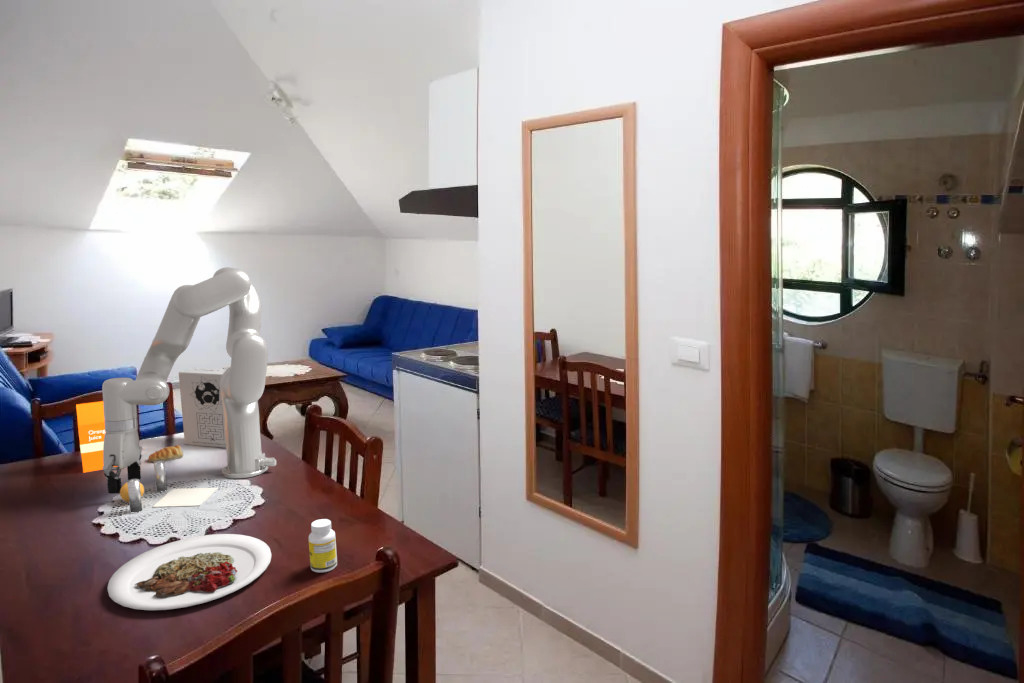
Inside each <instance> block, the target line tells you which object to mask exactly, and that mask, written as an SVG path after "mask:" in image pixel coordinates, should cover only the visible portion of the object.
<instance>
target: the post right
mask: <svg viewBox="0 0 1024 683" xmlns="http://www.w3.org/2000/svg"><path fill="white" fill-rule="evenodd" d="M165 463H166V461H156V462H153V468H154V470H153V471H154V478H155V480H154V481H155V488H156V490H155V491H156V492H157V493H162V492H161V491H163V492H166V491H167V490H168V484H167V473H166V464H165ZM165 490H166V491H165Z"/></svg>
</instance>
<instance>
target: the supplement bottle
mask: <svg viewBox="0 0 1024 683" xmlns="http://www.w3.org/2000/svg"><path fill="white" fill-rule="evenodd" d="M310 528H311V529H310V531H311V532H310V533H309V535H308V549H309V550H308V553H309V566H310V569H311V571H312V572H315V573H321V574H322V573H327V572H330V571H332V570H334V569H335V568H336V567H337V566H338V554H337V542H336V540H337V539H336V532H335V530H333V529H332V520H330V519H328V518H321V519H316V520H314V521H312V522H311V525H310Z"/></svg>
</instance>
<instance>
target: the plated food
mask: <svg viewBox="0 0 1024 683" xmlns="http://www.w3.org/2000/svg"><path fill="white" fill-rule="evenodd" d="M271 551H272V550H271V548H270V546H269V545H268V544H267V543H266V542H264V541H263V540H261V539H259V538H257V537H253V536H250V535H245V534H235V533H215V534H213V533H212V534H206V535H198V536H194V537H187V538H182V539H180V540H179V539H178V540H176V541H172V542H167V543H166V544H163V545H159V546H157V547H156V546H155V547H154V548H152V549H150V550H146V551H145V552H143V553H140V554H139V555H137V556H135V557H133V558H132V559H130V560H129V561H126V563H124V564H123V565H121V566H120V567H119V568H118V569H116V571H115V572H114V573H113V574H112V575H111V577H110V579H109V580H108V584H107V592H108V596H109V598H110V599H111V600H112V601H113V602H114V603H117V604H118V605H120V606H122V607H125V608H130V609H133V610H142V611H143V610H144V611H167V610H174V609H181V608H188V607H193V606H196V605H200V604H204V603H208V602H211V601H213V600H217V599H220V598H223V597H225V596H227V595H230V594H232V593H234V592H236V591H239V590H240V589H242V588H244V587H246V586H247V585H249V584H251V583H252V582H254V581H255V580H257V579H258V578H259V577H260V576H261V575H262V574H263V573H264V572H266V570H267V569H268V567H269V566H270V563H271V561H272V552H271Z"/></svg>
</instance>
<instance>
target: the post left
mask: <svg viewBox="0 0 1024 683" xmlns="http://www.w3.org/2000/svg"><path fill="white" fill-rule="evenodd" d="M126 483H127V484H128V493H129V502H128V503H129V511H131V512H137V513H139V511H140V512H142V511H143V503H142V497H141V492H140V483H141V482H140V480H139V479H131V480H128V479H127V482H126ZM131 512H130V513H131Z"/></svg>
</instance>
